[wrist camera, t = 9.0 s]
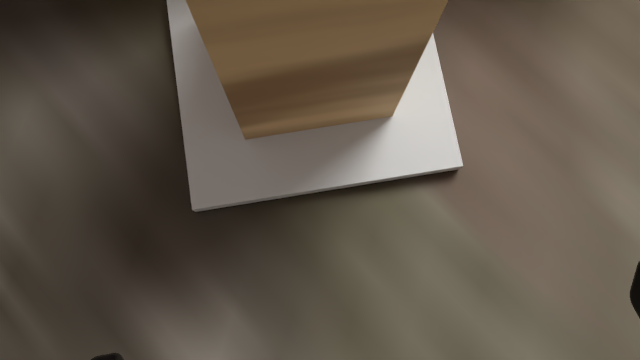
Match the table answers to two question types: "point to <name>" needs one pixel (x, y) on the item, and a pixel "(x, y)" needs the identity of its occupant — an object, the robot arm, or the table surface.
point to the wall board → (302, 135)
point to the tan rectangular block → (313, 58)
